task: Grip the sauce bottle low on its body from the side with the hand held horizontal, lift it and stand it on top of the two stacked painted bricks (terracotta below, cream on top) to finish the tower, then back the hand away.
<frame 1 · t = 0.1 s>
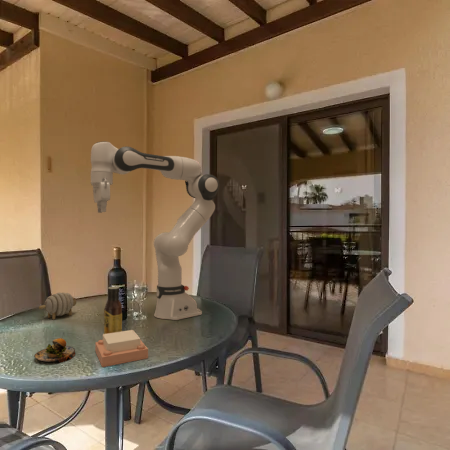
hand: (101, 212, 140), 48 cm above the table, tool pointing down, fingers open, 8 cm apart
toy sheep: (58, 317, 151), on the table
brick stack: (121, 354, 108), on the table
sauce bottle: (112, 341, 120), on the table
burger: (55, 358, 106), on the table
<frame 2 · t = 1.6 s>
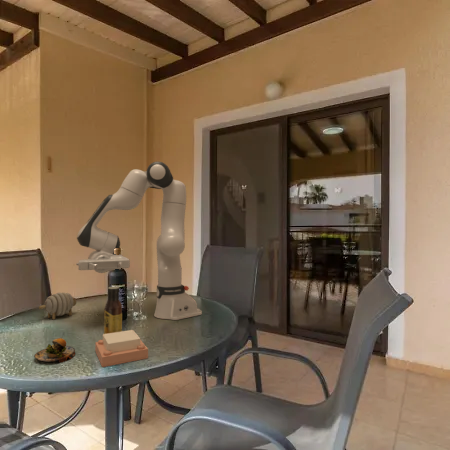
hand: (107, 266, 131), 26 cm above the table, tool horizontal, fingers open, 8 cm apart
nothing on the table moved.
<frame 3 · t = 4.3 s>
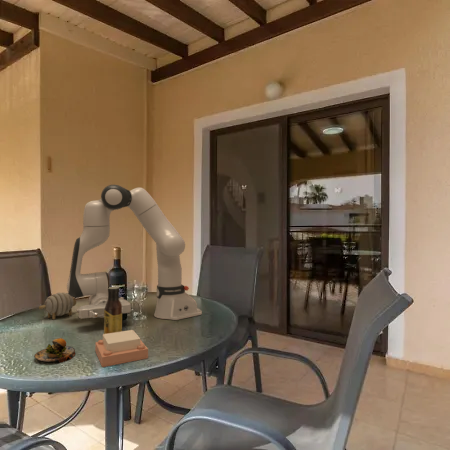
hand: (108, 314, 129), 7 cm above the table, tool horizontal, fingers open, 8 cm apart
nothing on the table moved.
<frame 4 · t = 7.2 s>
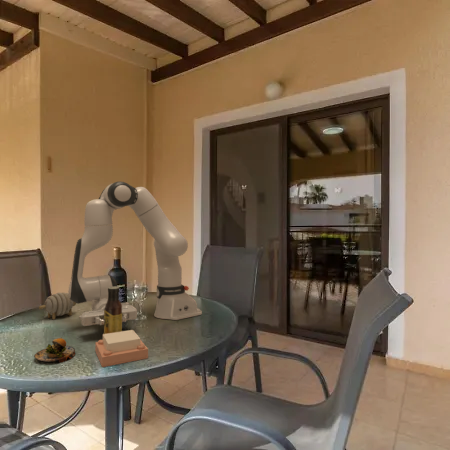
hand: (113, 321, 119), 8 cm above the table, tool horizontal, fingers closed on sauce bottle, 6 cm apart
sauce bottle: (112, 341, 120), on the table, touching gripper
everything else where it was.
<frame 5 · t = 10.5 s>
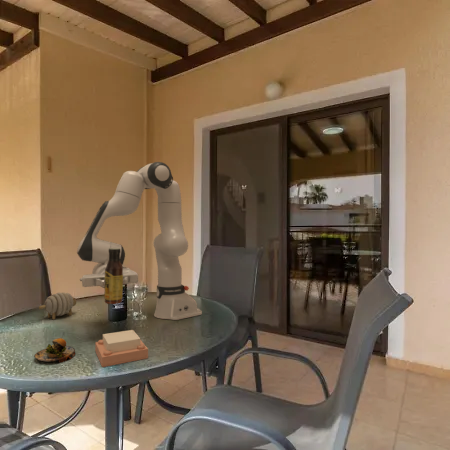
hand: (114, 282, 118), 22 cm above the table, tool horizontal, fingers closed on sauce bottle, 6 cm apart
sauce bottle: (113, 303, 119), point 14 cm above the table, touching gripper
everything else where it was.
when the fingers open (15 cm above the table, at t = 14.2 s): sauce bottle moves 1 cm, resting on brick stack.
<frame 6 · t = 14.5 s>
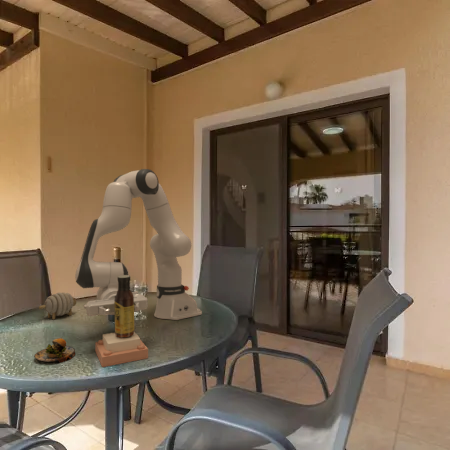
hand: (122, 310, 107), 15 cm above the table, tool horizontal, fingers open, 8 cm apart
sauce bottle: (125, 336, 109), point 6 cm above the table, touching brick stack, gripper
everything else where it was.
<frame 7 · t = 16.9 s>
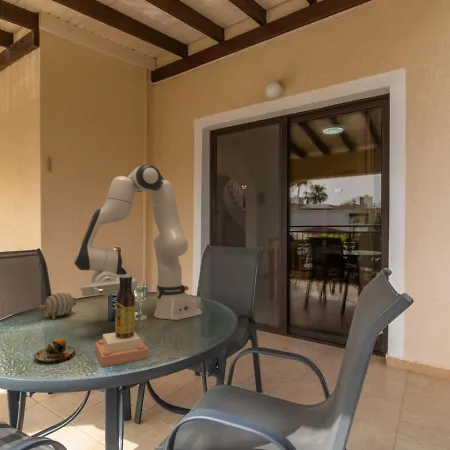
hand: (113, 290, 120), 19 cm above the table, tool horizontal, fingers open, 8 cm apart
sauce bottle: (124, 336, 109), point 6 cm above the table, touching brick stack
everything else where it was.
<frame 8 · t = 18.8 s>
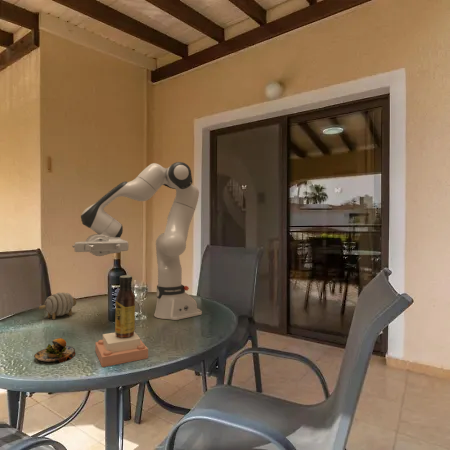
hand: (104, 247, 124), 34 cm above the table, tool horizontal, fingers open, 8 cm apart
nothing on the table moved.
at the end: sauce bottle 1.3 cm from the brick stack (horizontally); sauce bottle point 5.8 cm above the table; sauce bottle tilted 0° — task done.
